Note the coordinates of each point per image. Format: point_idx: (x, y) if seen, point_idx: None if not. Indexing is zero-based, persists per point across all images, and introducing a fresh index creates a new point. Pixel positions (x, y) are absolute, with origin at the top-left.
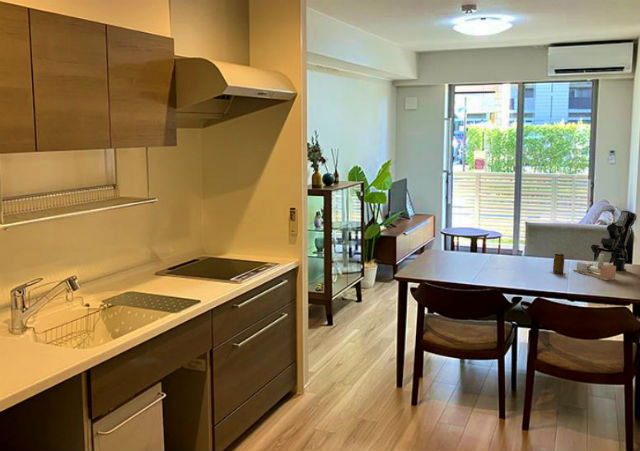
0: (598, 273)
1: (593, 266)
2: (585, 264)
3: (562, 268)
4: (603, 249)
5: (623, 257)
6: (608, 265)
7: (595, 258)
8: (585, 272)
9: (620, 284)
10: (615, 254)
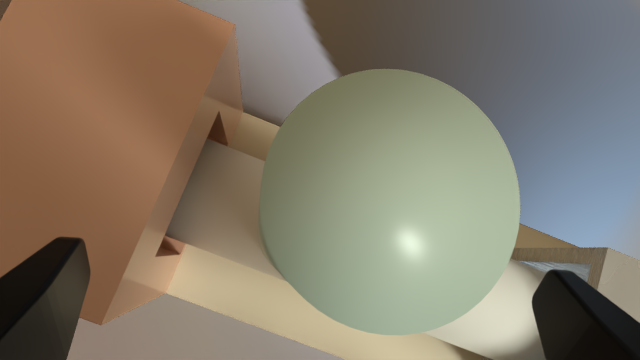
0: (364, 340)
1: (485, 302)
2: (638, 261)
3: None
4: None
5: None
6: (79, 140)
7: (574, 325)
8: (522, 238)
9: None
10: None
